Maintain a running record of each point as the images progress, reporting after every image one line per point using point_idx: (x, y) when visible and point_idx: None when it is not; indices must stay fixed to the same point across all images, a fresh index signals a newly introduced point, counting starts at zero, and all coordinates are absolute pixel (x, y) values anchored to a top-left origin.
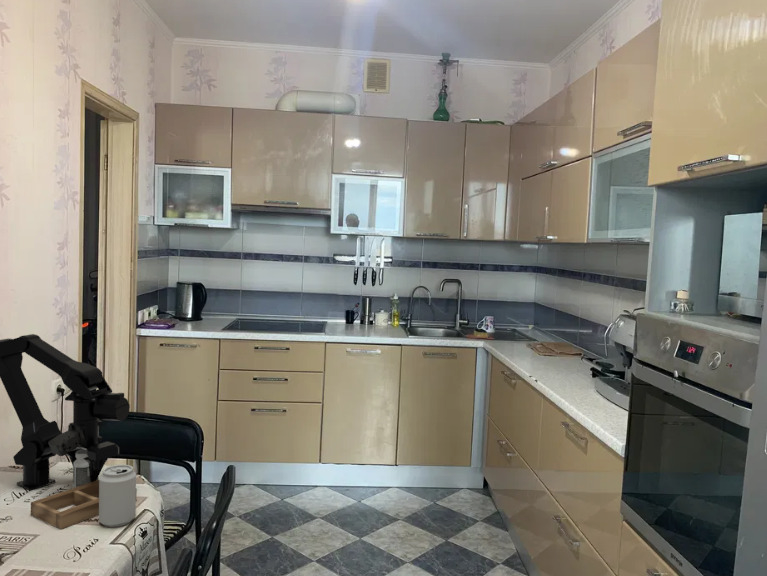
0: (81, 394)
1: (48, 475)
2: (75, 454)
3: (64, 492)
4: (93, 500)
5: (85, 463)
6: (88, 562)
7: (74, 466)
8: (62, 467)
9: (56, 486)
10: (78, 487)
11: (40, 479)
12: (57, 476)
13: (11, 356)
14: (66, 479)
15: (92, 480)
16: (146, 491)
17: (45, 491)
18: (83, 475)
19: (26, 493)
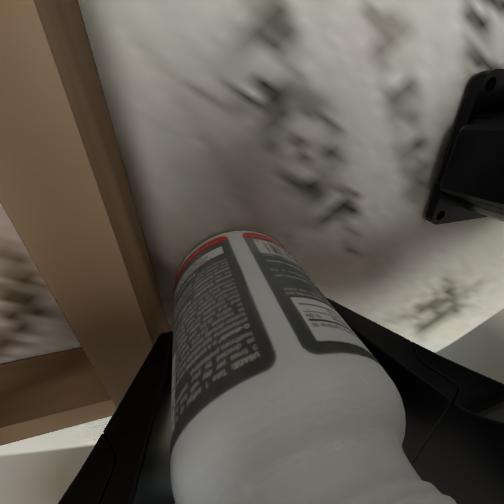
0: None
1: (484, 197)
2: (486, 466)
3: (5, 58)
4: None
5: (203, 487)
6: None
7: (310, 360)
8: (488, 292)
9: (387, 205)
10: (92, 236)
11: (497, 141)
12: (456, 253)
13: None
14: (405, 265)
15: (155, 345)
16: (14, 442)
17: (388, 132)
18: (187, 339)
19: (465, 31)
